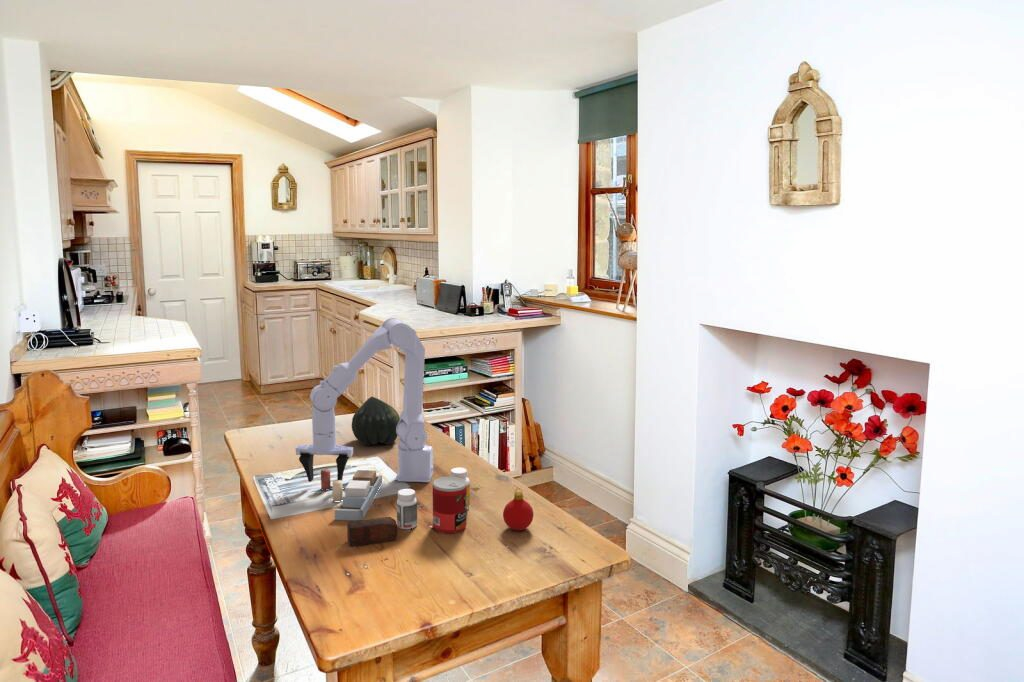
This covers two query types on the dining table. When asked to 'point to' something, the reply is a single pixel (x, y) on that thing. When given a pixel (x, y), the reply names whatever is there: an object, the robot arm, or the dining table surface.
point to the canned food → (449, 504)
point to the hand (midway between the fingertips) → (325, 480)
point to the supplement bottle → (463, 474)
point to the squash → (375, 422)
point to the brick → (371, 531)
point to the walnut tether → (358, 476)
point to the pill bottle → (406, 509)
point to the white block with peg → (350, 489)
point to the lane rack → (358, 504)
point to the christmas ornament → (518, 513)
